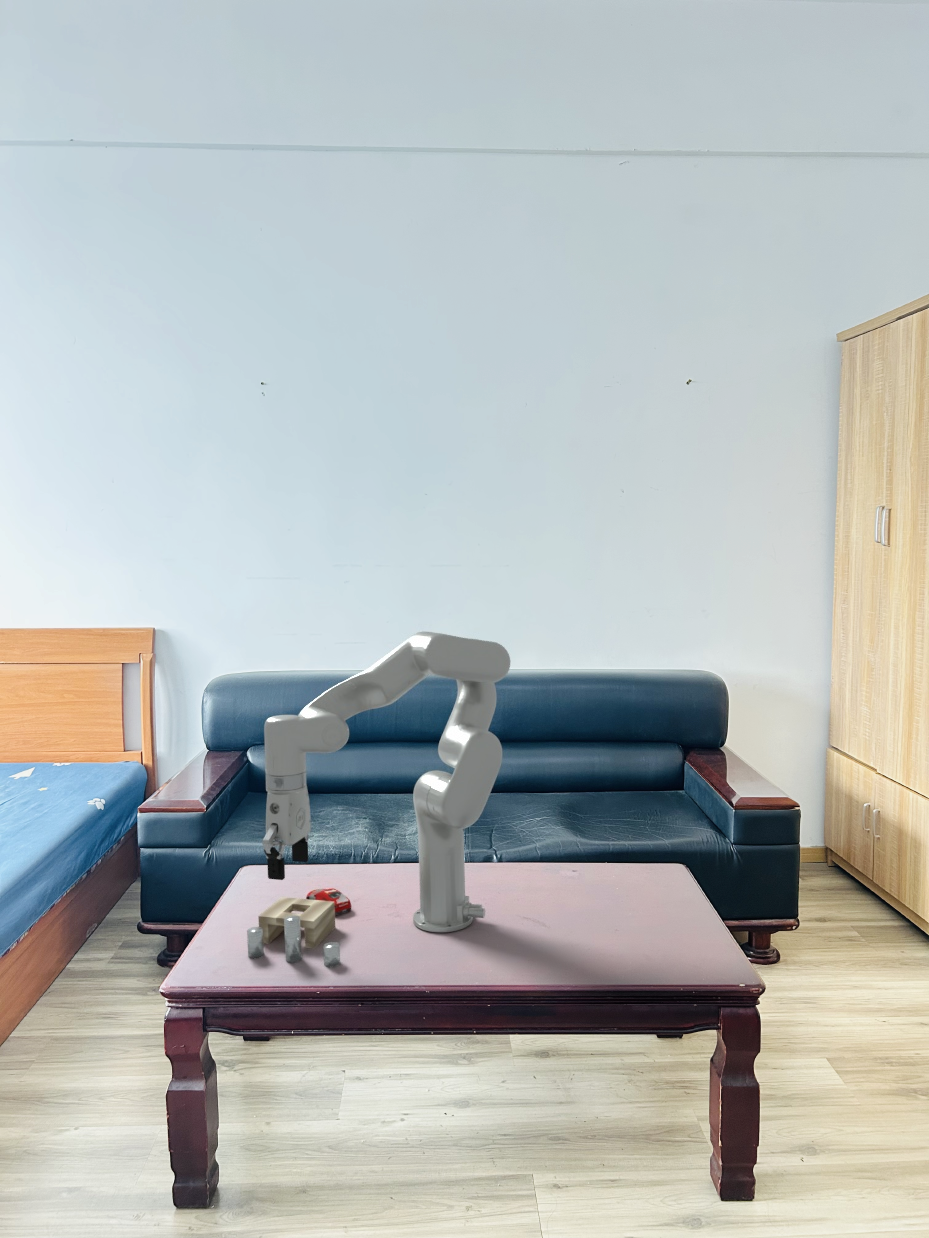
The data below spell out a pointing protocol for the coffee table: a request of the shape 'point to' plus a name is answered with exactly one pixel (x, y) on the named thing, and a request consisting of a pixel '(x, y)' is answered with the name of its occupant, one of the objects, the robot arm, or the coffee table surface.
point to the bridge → (313, 919)
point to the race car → (331, 899)
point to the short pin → (331, 954)
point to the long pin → (292, 938)
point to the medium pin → (255, 942)
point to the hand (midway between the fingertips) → (288, 869)
